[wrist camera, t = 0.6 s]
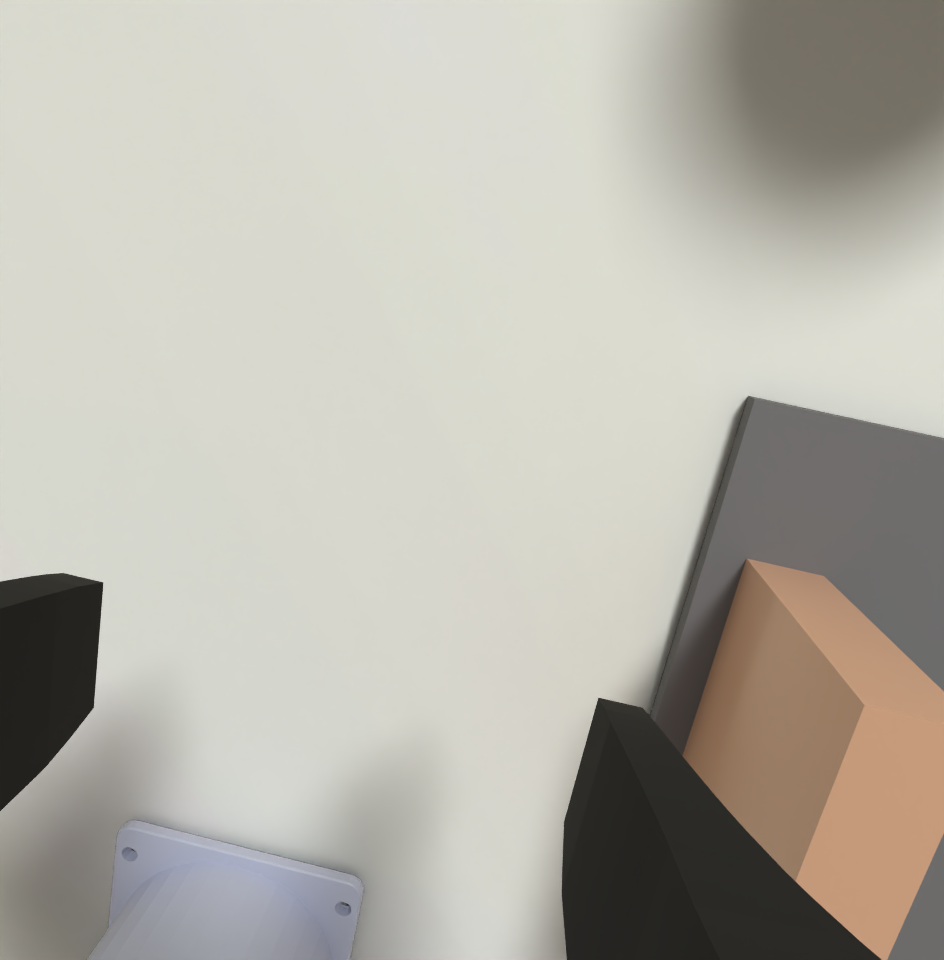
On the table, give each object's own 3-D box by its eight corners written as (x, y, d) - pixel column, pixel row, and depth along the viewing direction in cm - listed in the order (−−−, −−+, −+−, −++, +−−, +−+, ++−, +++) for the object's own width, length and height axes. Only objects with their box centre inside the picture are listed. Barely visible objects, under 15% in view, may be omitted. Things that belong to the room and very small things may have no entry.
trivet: (1085, 1025, 21) (1100, 1045, 21) (593, 901, 22) (594, 917, 21) (1359, 528, 17) (1387, 535, 17) (747, 395, 18) (755, 399, 17)
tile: (737, 833, 20) (834, 1097, 14) (663, 815, 20) (721, 1067, 14) (829, 577, 18) (997, 736, 12) (746, 558, 18) (864, 705, 12)
